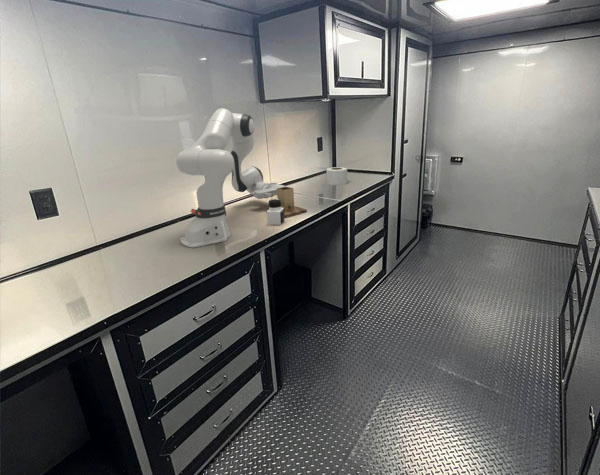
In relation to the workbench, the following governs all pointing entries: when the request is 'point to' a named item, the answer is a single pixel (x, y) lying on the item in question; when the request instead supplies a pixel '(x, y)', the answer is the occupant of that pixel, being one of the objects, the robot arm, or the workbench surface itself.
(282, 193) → the sleeve
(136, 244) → the workbench surface
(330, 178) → the white paper roll
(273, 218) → the medicine bottle
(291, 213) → the post board
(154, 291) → the workbench surface
